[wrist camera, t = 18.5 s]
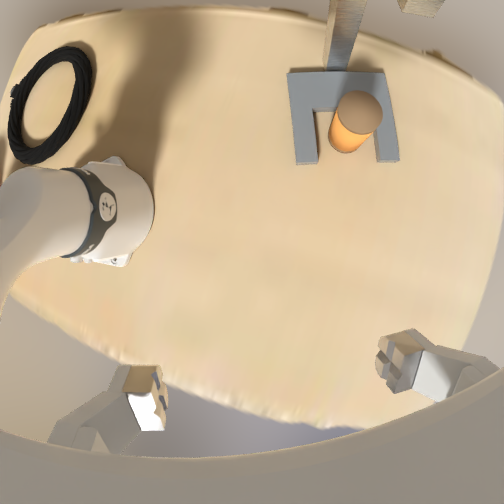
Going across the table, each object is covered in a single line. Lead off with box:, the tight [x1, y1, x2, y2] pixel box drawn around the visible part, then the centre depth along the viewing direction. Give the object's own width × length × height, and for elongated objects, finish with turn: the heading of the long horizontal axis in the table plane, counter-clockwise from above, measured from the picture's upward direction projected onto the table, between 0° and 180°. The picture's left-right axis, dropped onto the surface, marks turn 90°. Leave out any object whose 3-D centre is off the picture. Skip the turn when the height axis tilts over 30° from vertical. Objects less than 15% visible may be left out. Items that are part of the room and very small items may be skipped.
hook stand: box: [323, 0, 445, 72], centre depth 21 cm, size 3×14×36 cm, turn 4°
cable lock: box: [8, 46, 92, 165], centre depth 44 cm, size 28×4×30 cm
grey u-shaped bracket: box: [287, 72, 400, 165], centre depth 38 cm, size 15×14×2 cm
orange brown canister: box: [328, 90, 383, 153], centre depth 33 cm, size 5×5×12 cm
